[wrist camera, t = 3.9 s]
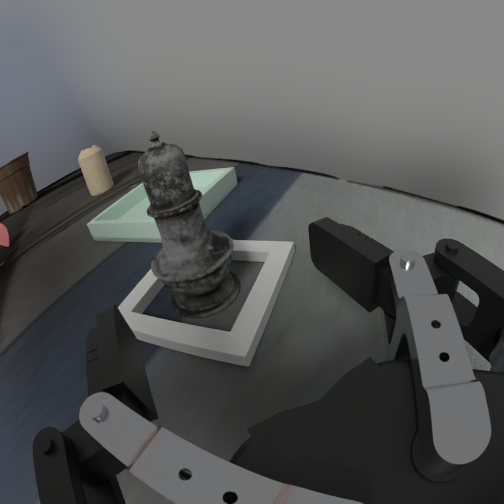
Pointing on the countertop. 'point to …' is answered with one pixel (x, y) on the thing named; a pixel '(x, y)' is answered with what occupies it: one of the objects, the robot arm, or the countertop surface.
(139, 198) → the parts tray
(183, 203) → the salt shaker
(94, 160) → the candle
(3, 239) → the figurine
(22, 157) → the plant pot
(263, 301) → the square frame
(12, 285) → the countertop surface
